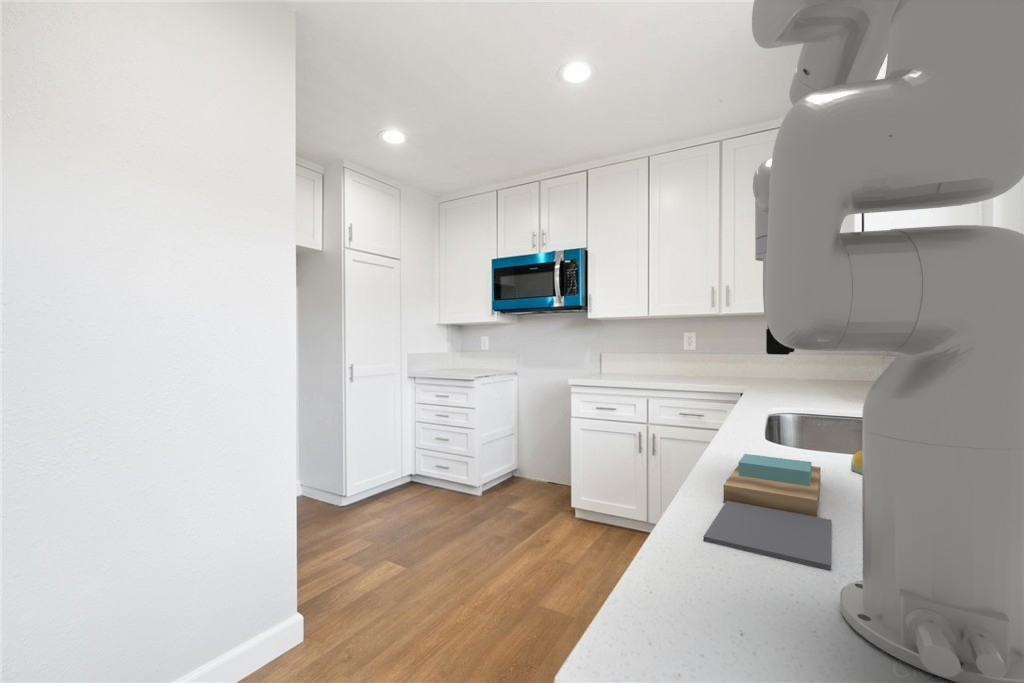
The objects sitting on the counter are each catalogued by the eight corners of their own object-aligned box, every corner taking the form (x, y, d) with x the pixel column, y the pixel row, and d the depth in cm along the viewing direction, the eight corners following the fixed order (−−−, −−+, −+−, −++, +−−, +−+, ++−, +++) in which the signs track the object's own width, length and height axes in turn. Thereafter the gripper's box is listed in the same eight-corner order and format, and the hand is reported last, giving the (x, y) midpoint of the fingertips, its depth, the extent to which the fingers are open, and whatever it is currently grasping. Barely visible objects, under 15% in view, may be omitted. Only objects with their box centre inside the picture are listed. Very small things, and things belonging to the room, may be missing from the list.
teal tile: (809, 486, 64) (809, 471, 64) (738, 475, 69) (738, 462, 69) (811, 475, 69) (811, 462, 69) (744, 466, 74) (744, 453, 74)
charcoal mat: (830, 570, 46) (830, 565, 46) (703, 540, 53) (703, 536, 53) (831, 523, 57) (831, 519, 57) (726, 504, 64) (726, 500, 64)
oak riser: (817, 519, 59) (817, 499, 59) (723, 502, 65) (723, 484, 65) (820, 482, 73) (820, 467, 73) (744, 471, 80) (744, 457, 80)
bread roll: (920, 485, 72) (920, 460, 72) (850, 475, 78) (850, 452, 78) (917, 473, 79) (917, 449, 79) (852, 464, 85) (852, 442, 84)
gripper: (804, 237, 67) (804, 356, 67) (810, 253, 81) (810, 351, 81) (747, 243, 71) (747, 355, 71) (762, 258, 85) (762, 351, 86)
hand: (781, 353), depth 76 cm, fingers open, 9 cm apart
